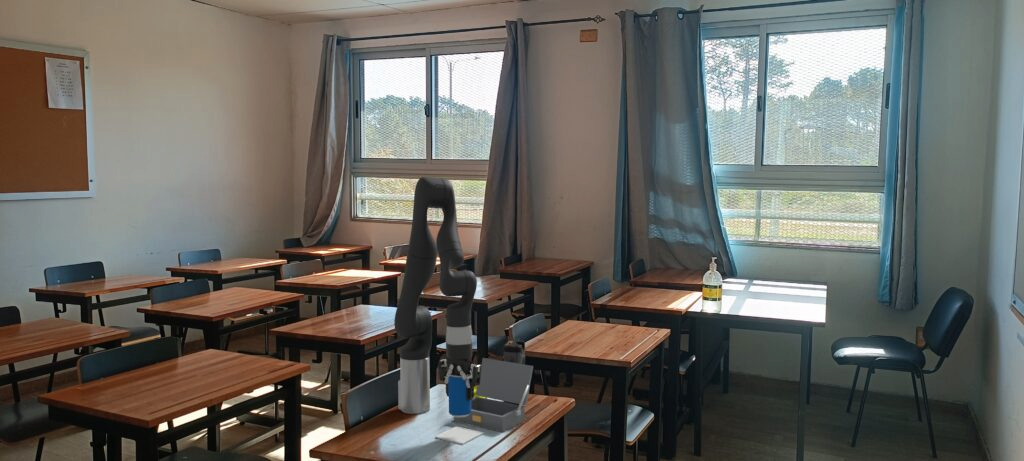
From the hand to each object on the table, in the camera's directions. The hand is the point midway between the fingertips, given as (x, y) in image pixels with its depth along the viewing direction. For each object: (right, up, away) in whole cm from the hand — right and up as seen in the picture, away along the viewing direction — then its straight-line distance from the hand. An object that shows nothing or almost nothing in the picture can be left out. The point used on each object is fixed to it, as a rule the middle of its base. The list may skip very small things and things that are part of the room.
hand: (459, 397), depth 206 cm
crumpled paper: (+3, -9, +32) cm, 33 cm away
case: (+9, -10, +15) cm, 20 cm away
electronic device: (+16, -9, +31) cm, 36 cm away
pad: (0, -11, +1) cm, 11 cm away
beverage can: (0, -5, 0) cm, 5 cm away
